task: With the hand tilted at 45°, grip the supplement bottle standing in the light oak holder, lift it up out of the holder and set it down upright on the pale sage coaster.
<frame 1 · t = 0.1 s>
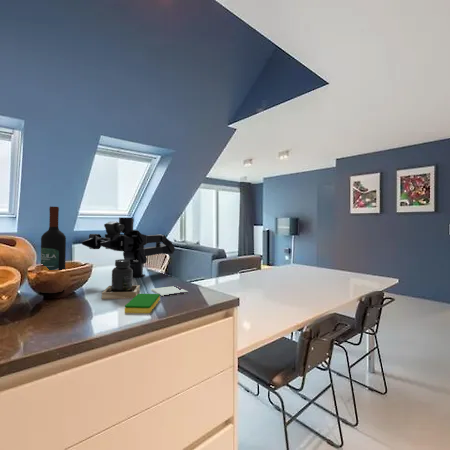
hand: (91, 243, 109), 17 cm above the counter, tool horizontal, fingers open, 9 cm apart
dish sponge: (143, 307, 87), on the counter
supplement bottle: (121, 295, 99), resting in oak holder
oak holder: (121, 294, 99), on the counter
wine bottle: (52, 292, 101), on the counter
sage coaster: (169, 291, 105), on the counter
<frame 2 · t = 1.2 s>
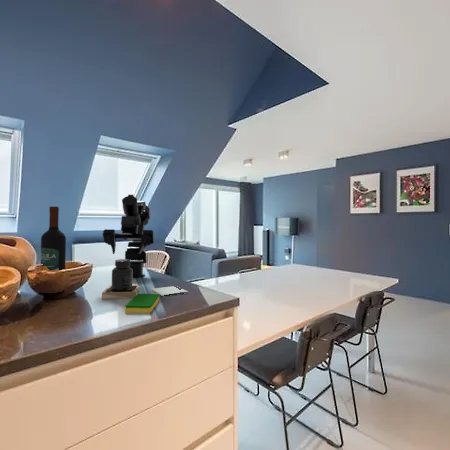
hand: (126, 253, 107), 13 cm above the counter, tool tilted 45°, fingers open, 9 cm apart
nothing on the counter moved.
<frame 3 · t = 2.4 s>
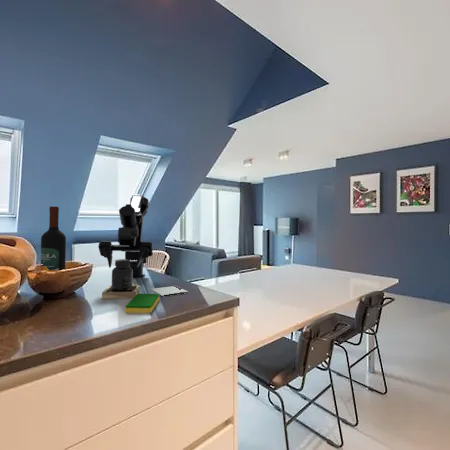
hand: (123, 267, 101), 9 cm above the counter, tool tilted 45°, fingers open, 9 cm apart
nothing on the counter moved.
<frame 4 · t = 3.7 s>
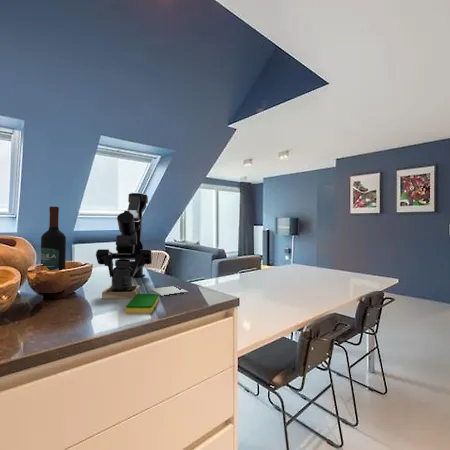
hand: (121, 276, 98), 7 cm above the counter, tool tilted 45°, fingers closed on supplement bottle, 7 cm apart
supplement bottle: (121, 295, 99), resting in oak holder, touching gripper
everything else where it was.
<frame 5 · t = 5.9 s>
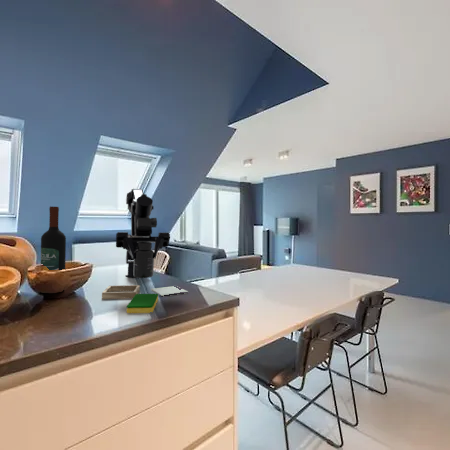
hand: (144, 258, 100), 13 cm above the counter, tool tilted 45°, fingers closed on supplement bottle, 7 cm apart
supplement bottle: (143, 277, 101), point 6 cm above the counter, touching gripper
everything else where it was.
when the fingers open (9 cm above the counter, at t = 8.1 s): supplement bottle drops 1 cm, resting on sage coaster.
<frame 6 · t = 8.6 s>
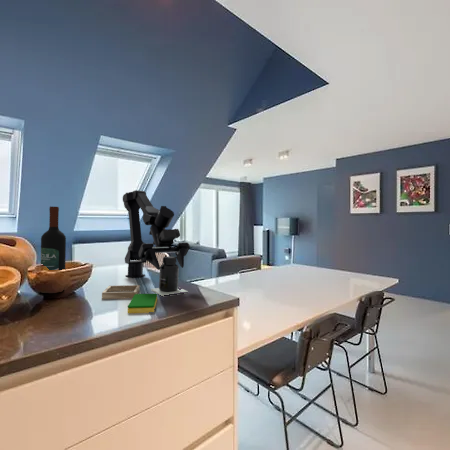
hand: (171, 268, 104), 9 cm above the counter, tool tilted 45°, fingers open, 9 cm apart
supplement bottle: (168, 290, 105), resting on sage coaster
everything else where it was.
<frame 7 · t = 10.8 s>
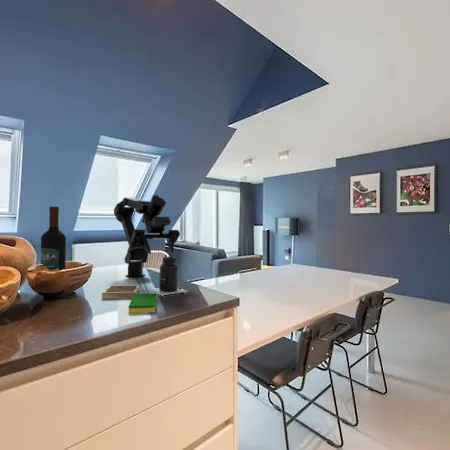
hand: (161, 252, 111), 14 cm above the counter, tool tilted 45°, fingers open, 9 cm apart
nothing on the counter moved.
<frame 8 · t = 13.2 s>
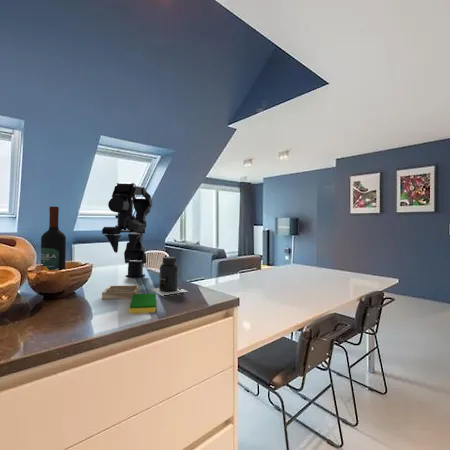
hand: (124, 251, 117), 13 cm above the counter, tool pointing down, fingers open, 9 cm apart
nothing on the counter moved.
at the end: supplement bottle 0.3 cm off-centre on the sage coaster, point 0.4 cm above the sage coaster's base; supplement bottle tilted 0°; the gripper is holding nothing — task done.
